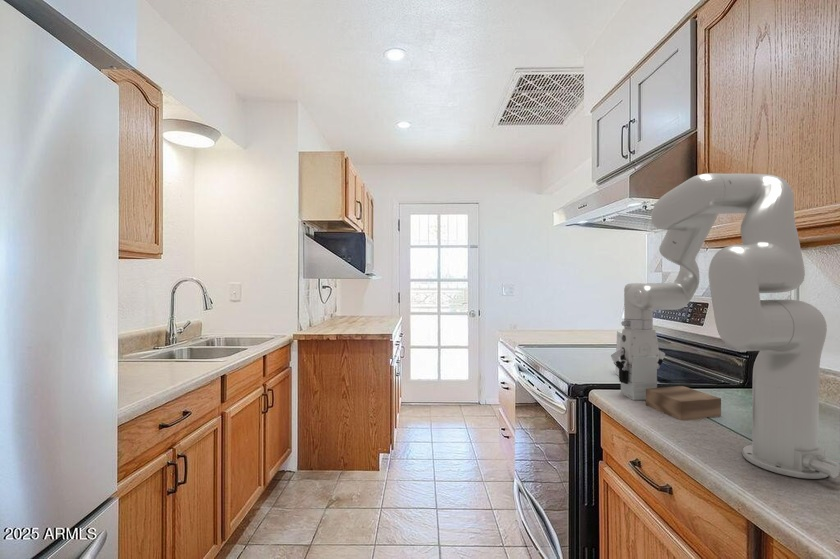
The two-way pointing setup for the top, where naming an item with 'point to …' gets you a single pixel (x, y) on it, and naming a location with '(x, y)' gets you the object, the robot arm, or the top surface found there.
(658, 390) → the walnut block
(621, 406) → the top surface
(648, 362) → the supplement box
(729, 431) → the top surface
